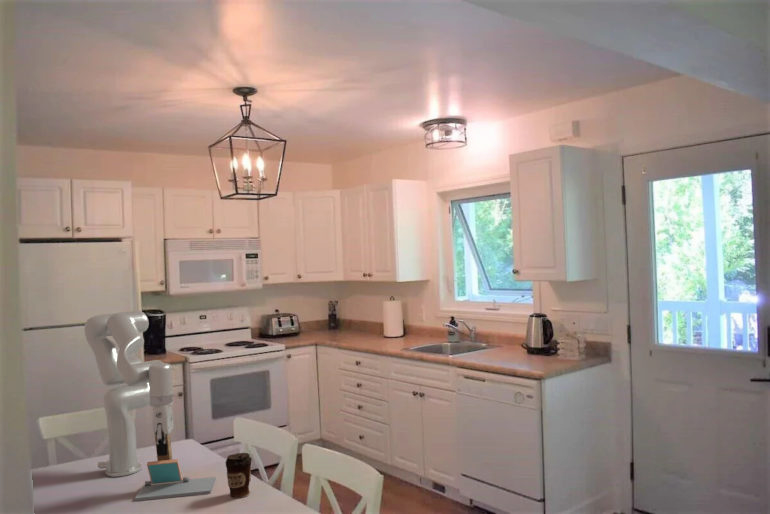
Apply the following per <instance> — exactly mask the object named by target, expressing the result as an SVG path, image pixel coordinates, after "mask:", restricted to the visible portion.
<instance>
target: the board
mask: <svg viewBox="0 0 770 514" xmlns="http://www.w3.org/2000/svg"><path fill="white" fill-rule="evenodd" d="M216 481H217V480H216V476H210V477H209V476H208V477H200V478H191V479H190V477H189V476H186V477H185V476H184V477H183V476H182V481H180V482H169V483H159V484H152V483H151V480H145V481H144V484H143V485H142V487H141V489H140V490H139V491H138V493H137V494H136V495H135V497H134V501H135V502H140V501H141V500H142V501H150V500H151V499H152V500H160V498H162V499H172V498H180V497H181V498H182V497H190V496H198V495H199V494H201V495H209V494H211V493H212V491H213V488H214V484H215V483H214V482H216ZM171 497H172V498H171Z"/></svg>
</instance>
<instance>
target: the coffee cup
mask: <svg viewBox="0 0 770 514" xmlns="http://www.w3.org/2000/svg"><path fill="white" fill-rule="evenodd" d="M250 455H251V454H250V453H247V452H237V453H234V454H229V455H228V456H227V458H226V460H225V467H226V478H227V486H228V487H229V488H228V489H229V497H230V498H234V499H236V498H237V499H238V498H245V497H248V496H250V494H251V491H250V483H251V477H252V470H251V465H252V459H253V458H252V457H251V456H250Z"/></svg>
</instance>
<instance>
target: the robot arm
mask: <svg viewBox="0 0 770 514" xmlns="http://www.w3.org/2000/svg"><path fill="white" fill-rule="evenodd" d="M149 325H150V323H149V318H148V316H147V313H145V312H143V311H142V310H133V311H132V310H131V311H123V312H116V313H107V314H98V315H94V316H91V317H89V318H88V319H86V321H85V324H84V336H85V339H86V342H87V343H88V345H89V347H90V349H91V351H92V352H93V355H94V357H95V360H96V361H95V362H96V365H97V368H98V371H99V375H100V380H101V381H102V383H103V384H104V386H108V387H111V386H117V385H123V384H127V385H123V386H117V387H114V388H111V389H109V390H108V391H106V392H105V393H104V395H103V398H102V402H103V403H102V404H103V406H104V412H105V416H106V425H107V443H108V459H109V460H107V461H98V463H97V467H98V468H99V469H106V470H105V475H106V476H107V477H113V478H114V477H116V478H117V477H125V476H129V475H134V474H136V473H139V472H140V471H141V470H142V469H143V464H142V463H141V462H138V455H137V454H138V452H137V451H138V450H137V436H136V435H137V434H136V423H135V420H134V418H133V417H132V416H131V415H130V414H129V412H132V411H134V410H139V409H143V408H146V407H149V406H150V407H152V411H153V412H152V418H153V419H152V422H153V423H152V424H153V435H154V437H155V436H157V451H156V456H157V455H158V456H164V455H167V454H168V453H167V443H166V434H167V435H169V434H170V433H171V432H172V431H173V430H174V426H175V425H174V416H173V406H172V404H174V389H173V387H174V386H173V369H172V368H173V367H172V365H171V364H170V363H167V362H163V361H162V360H160V359H154V360H148V361H142V359H140V358H139V357H136V356H133V355H135V354H137V352H139V351H140V350H141V349H142V348H143V346H144V343H145V340H144V337H143V335H142V334H141V333H144V332H146V331H147V330H148V328H149ZM111 336H112V338H113V340H114V341H115V342H113V341H112V340H110V339H109V338H107V337H111ZM115 343H116V344H115ZM131 356H132V357H131ZM156 431H157V433H156ZM162 433H164V434H162ZM170 435H171V434H170ZM162 436H164V438H163V437H162Z"/></svg>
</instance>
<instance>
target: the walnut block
mask: <svg viewBox="0 0 770 514" xmlns="http://www.w3.org/2000/svg"><path fill="white" fill-rule="evenodd" d="M156 433H157V431H156ZM162 434H164V433H162ZM162 437H163V438H164V436H162ZM154 439H155V441H154V442H155V449H156V450H155V451H156V452H157V436H155V435H154ZM166 443H167V453H168V454H167V455H164V456H158V455H157V454H156V458H157V460H156V461H163V460H173V454H172V453H173V452H172V443H171V434H169V435H167V434H166Z"/></svg>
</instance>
